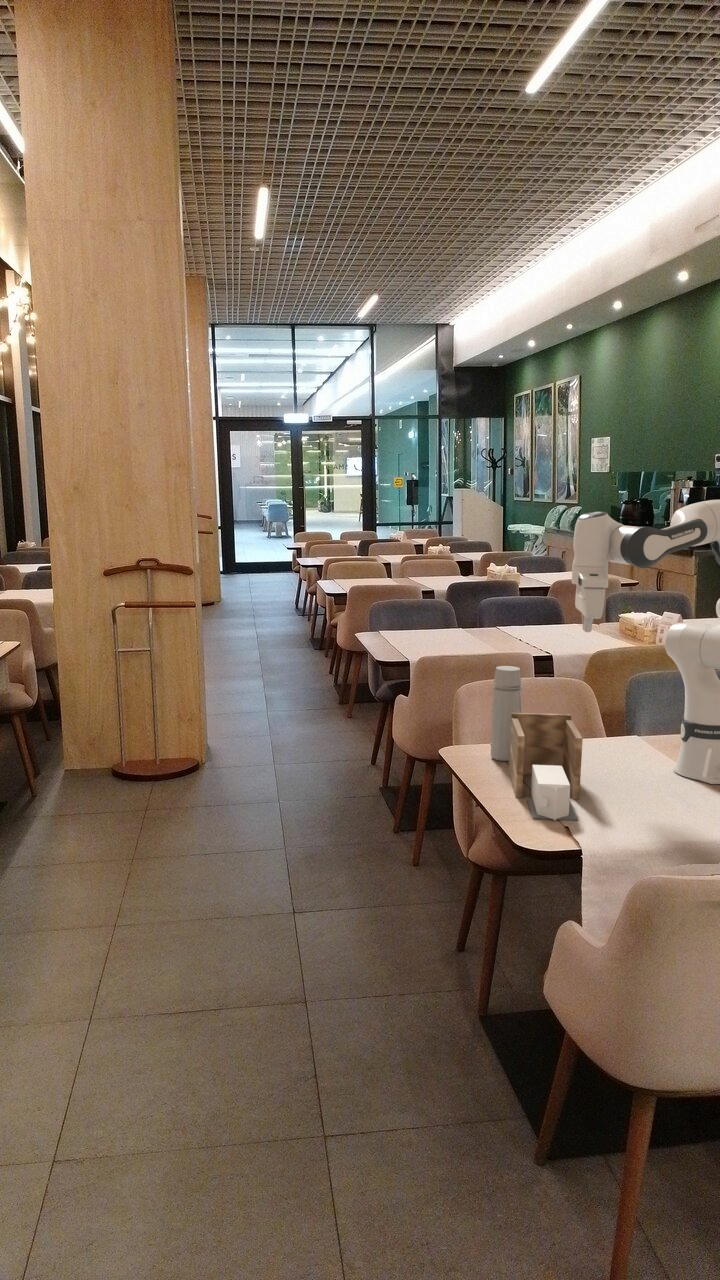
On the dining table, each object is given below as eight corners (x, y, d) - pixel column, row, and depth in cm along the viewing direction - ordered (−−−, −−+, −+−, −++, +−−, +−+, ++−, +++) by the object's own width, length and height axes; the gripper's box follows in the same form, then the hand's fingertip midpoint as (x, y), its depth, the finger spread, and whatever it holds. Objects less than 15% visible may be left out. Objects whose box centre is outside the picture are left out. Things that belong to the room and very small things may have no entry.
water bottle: (501, 763, 254) (505, 671, 250) (484, 756, 261) (487, 666, 257) (529, 759, 258) (533, 669, 254) (511, 752, 265) (515, 663, 261)
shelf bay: (567, 774, 246) (570, 714, 243) (579, 799, 227) (582, 734, 224) (508, 772, 247) (511, 712, 244) (515, 797, 228) (518, 732, 225)
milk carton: (562, 765, 228) (572, 790, 210) (560, 793, 229) (571, 821, 211) (532, 764, 229) (540, 789, 210) (530, 792, 230) (538, 820, 211)
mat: (568, 799, 227) (569, 798, 227) (578, 820, 213) (578, 818, 213) (526, 798, 227) (526, 796, 227) (532, 818, 213) (532, 817, 213)
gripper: (570, 572, 251) (568, 624, 253) (583, 581, 230) (580, 637, 233) (595, 573, 250) (592, 625, 252) (609, 581, 230) (606, 638, 232)
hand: (586, 631), depth 242 cm, fingers closed
